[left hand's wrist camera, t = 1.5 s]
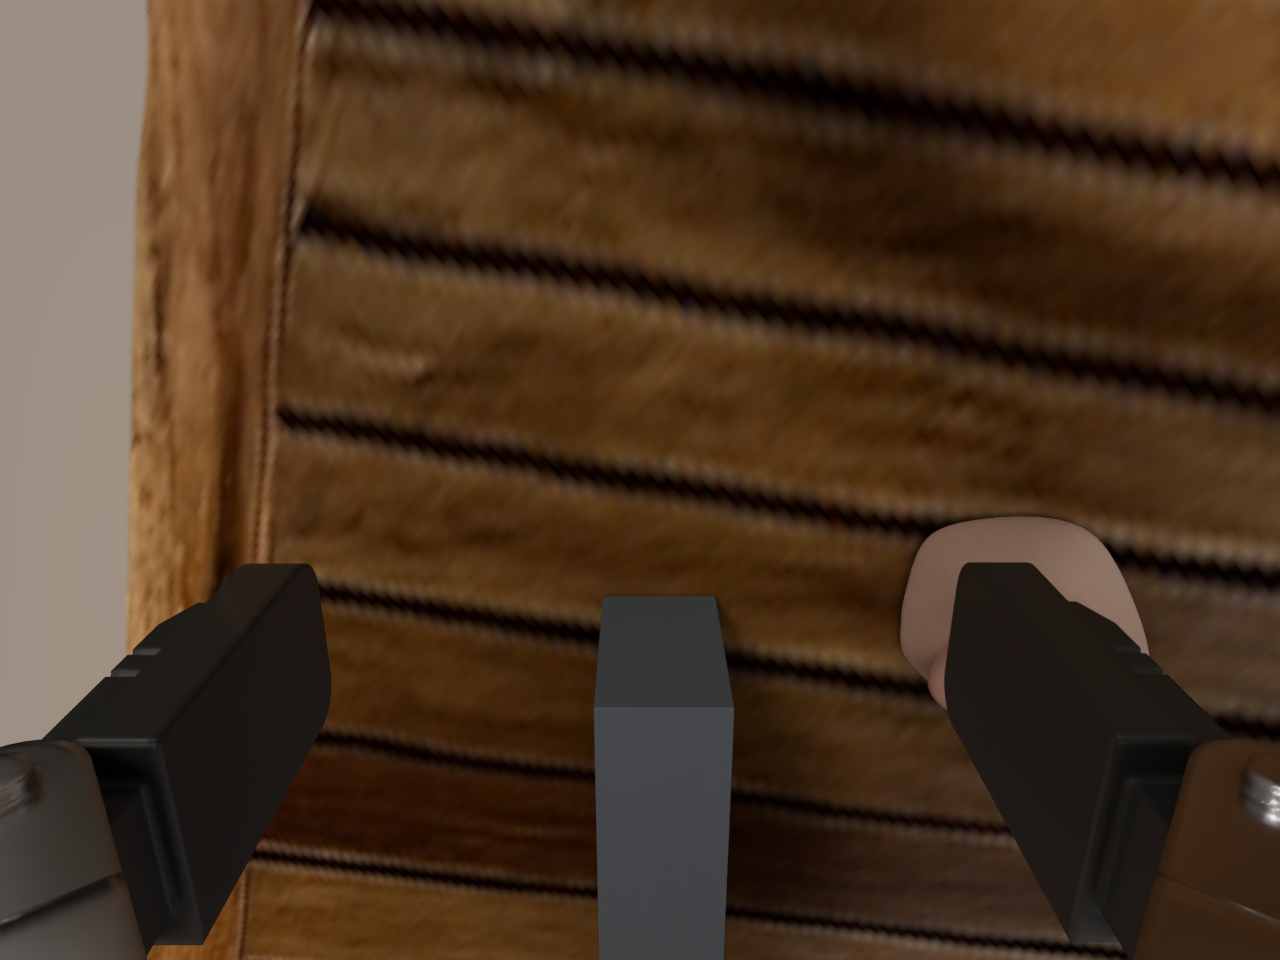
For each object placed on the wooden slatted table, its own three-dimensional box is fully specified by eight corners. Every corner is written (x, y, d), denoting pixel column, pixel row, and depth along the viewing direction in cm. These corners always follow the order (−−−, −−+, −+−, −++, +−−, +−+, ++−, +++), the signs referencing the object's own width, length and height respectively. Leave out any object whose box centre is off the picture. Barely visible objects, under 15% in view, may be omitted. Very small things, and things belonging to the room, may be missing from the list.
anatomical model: (894, 587, 38) (1161, 503, 37) (871, 548, 42) (1113, 471, 41) (961, 818, 43) (1203, 750, 41) (936, 764, 46) (1156, 701, 45)
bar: (603, 595, 43) (593, 708, 34) (715, 595, 43) (734, 708, 34) (609, 970, 52) (603, 1136, 43) (703, 970, 52) (716, 1136, 43)
